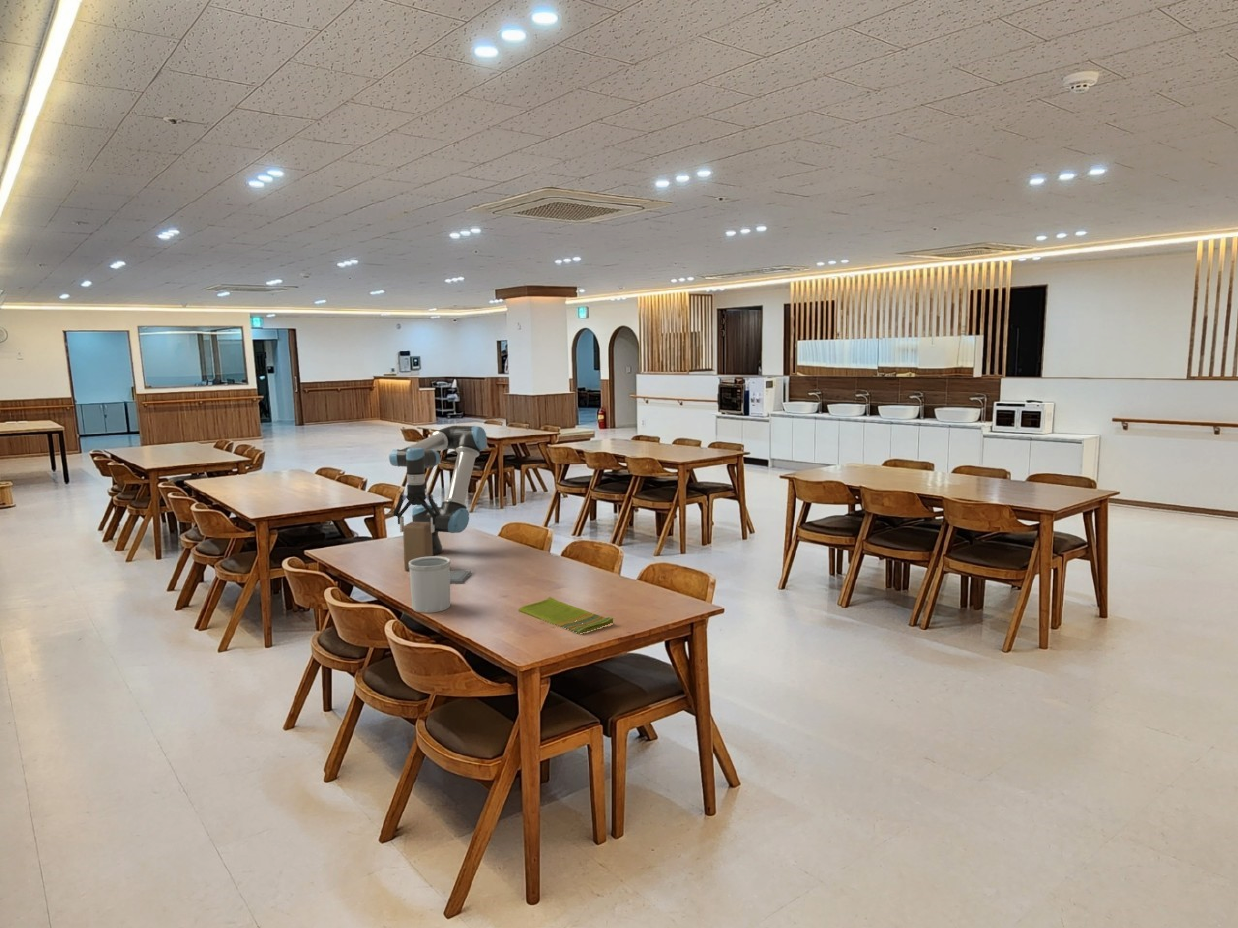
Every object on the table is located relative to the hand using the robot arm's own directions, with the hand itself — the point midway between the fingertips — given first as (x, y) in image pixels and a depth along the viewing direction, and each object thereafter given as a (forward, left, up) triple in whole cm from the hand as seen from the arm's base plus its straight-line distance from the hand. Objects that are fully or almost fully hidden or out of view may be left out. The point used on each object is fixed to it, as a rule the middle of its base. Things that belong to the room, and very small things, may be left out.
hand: (417, 531), depth 344 cm
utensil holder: (+55, +22, -17) cm, 61 cm away
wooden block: (0, 0, -17) cm, 17 cm away
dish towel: (+64, +73, -17) cm, 98 cm away
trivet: (+15, +17, -16) cm, 28 cm away
